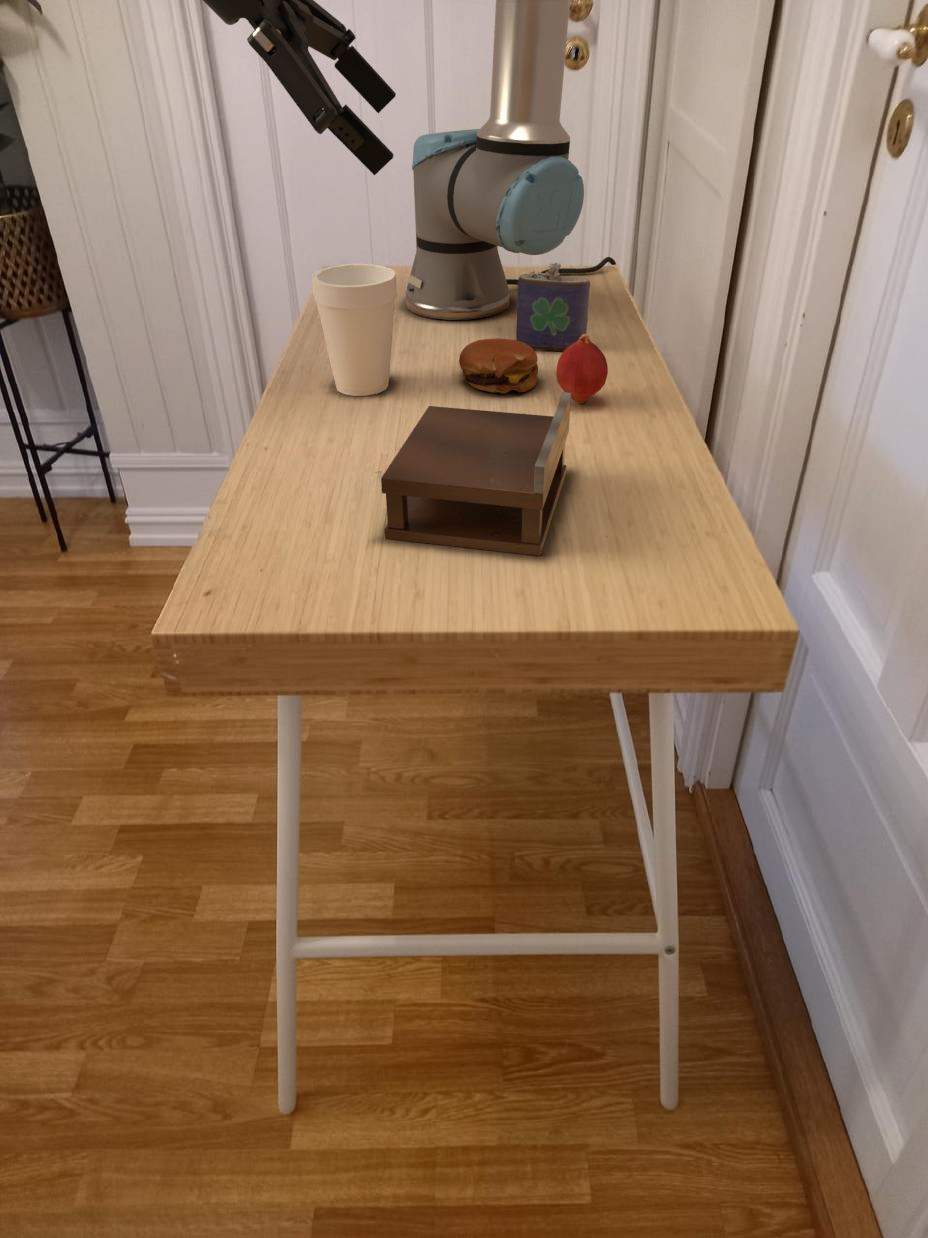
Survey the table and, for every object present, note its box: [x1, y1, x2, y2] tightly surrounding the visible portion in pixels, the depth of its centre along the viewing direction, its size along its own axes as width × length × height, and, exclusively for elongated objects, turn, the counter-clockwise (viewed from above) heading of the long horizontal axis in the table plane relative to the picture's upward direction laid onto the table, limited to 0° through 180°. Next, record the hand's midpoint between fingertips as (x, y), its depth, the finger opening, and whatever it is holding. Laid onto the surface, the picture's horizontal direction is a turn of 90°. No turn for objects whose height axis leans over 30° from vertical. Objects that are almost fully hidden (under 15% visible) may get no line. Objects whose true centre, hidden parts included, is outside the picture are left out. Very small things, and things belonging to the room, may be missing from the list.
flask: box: [515, 262, 591, 352], centre depth 120 cm, size 9×3×11 cm, turn 77°
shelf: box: [380, 391, 572, 557], centre depth 86 cm, size 16×14×8 cm
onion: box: [555, 333, 609, 404], centre depth 105 cm, size 6×6×8 cm
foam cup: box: [311, 263, 398, 397], centre depth 109 cm, size 10×9×13 cm
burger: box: [458, 337, 539, 395], centre depth 112 cm, size 10×9×5 cm
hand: (385, 132), depth 99 cm, fingers open, 13 cm apart
